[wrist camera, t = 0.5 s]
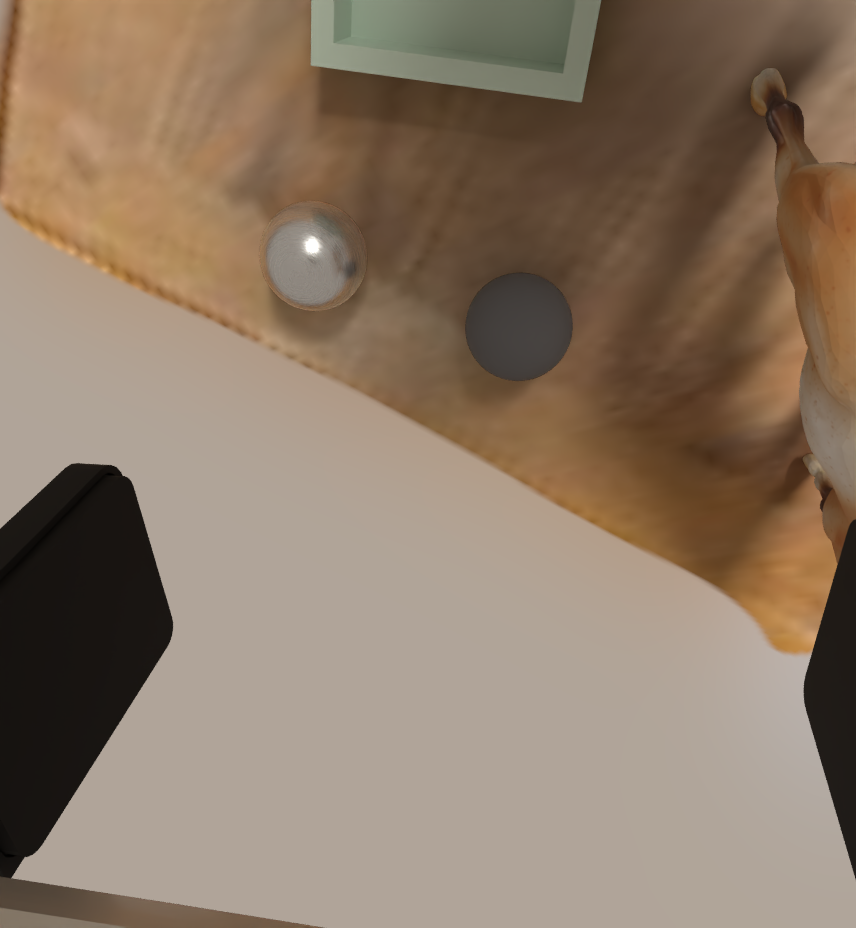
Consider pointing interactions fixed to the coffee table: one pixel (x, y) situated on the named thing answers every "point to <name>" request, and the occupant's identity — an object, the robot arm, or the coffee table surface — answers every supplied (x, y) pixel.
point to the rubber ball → (518, 326)
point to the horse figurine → (819, 297)
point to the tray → (461, 42)
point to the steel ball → (313, 255)
